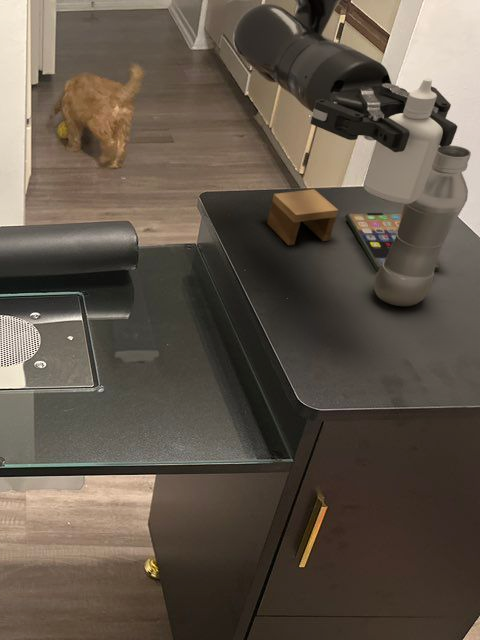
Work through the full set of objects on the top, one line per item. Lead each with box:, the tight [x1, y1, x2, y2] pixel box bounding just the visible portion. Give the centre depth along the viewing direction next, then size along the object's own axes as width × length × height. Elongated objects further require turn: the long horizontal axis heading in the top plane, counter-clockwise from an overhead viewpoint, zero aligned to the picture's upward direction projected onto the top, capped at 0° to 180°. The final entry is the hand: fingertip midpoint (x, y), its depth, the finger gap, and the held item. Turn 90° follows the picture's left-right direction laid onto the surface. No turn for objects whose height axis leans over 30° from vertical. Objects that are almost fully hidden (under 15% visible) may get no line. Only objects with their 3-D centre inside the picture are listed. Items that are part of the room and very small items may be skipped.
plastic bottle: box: [373, 144, 472, 307], centre depth 89 cm, size 6×7×20 cm
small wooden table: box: [266, 188, 339, 246], centre depth 108 cm, size 6×7×5 cm
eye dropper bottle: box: [362, 78, 443, 205], centre depth 74 cm, size 4×6×12 cm
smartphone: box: [345, 212, 440, 272], centre depth 106 cm, size 8×15×1 cm, turn 175°
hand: (427, 139), depth 71 cm, fingers closed on eye dropper bottle, 4 cm apart
